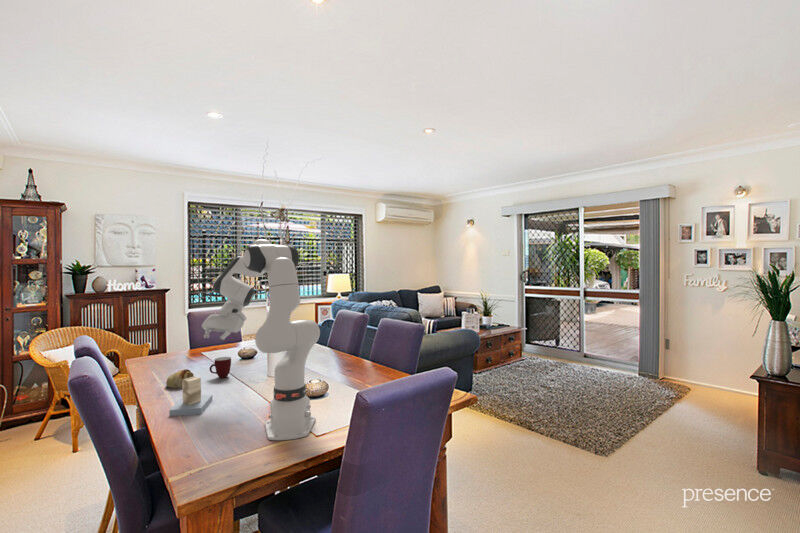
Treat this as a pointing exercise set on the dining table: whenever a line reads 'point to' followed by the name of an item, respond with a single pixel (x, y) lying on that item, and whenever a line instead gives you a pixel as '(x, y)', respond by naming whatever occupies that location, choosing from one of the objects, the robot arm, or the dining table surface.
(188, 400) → the maple block
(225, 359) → the mug
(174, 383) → the pastry
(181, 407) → the base plate
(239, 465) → the dining table surface
